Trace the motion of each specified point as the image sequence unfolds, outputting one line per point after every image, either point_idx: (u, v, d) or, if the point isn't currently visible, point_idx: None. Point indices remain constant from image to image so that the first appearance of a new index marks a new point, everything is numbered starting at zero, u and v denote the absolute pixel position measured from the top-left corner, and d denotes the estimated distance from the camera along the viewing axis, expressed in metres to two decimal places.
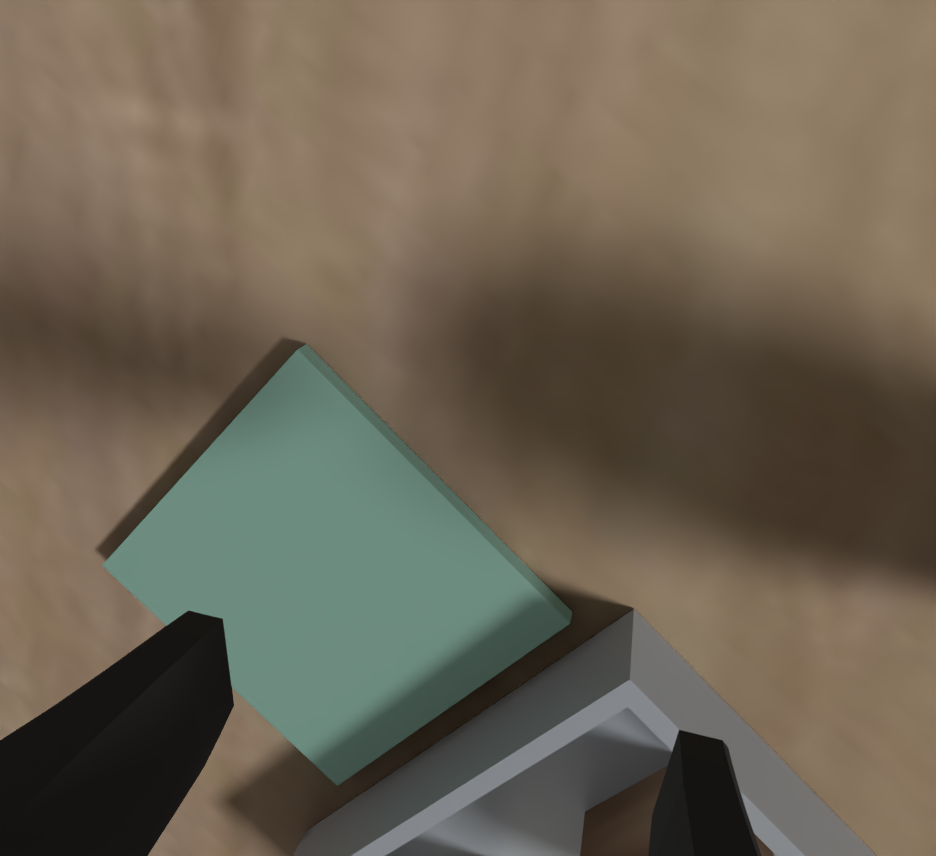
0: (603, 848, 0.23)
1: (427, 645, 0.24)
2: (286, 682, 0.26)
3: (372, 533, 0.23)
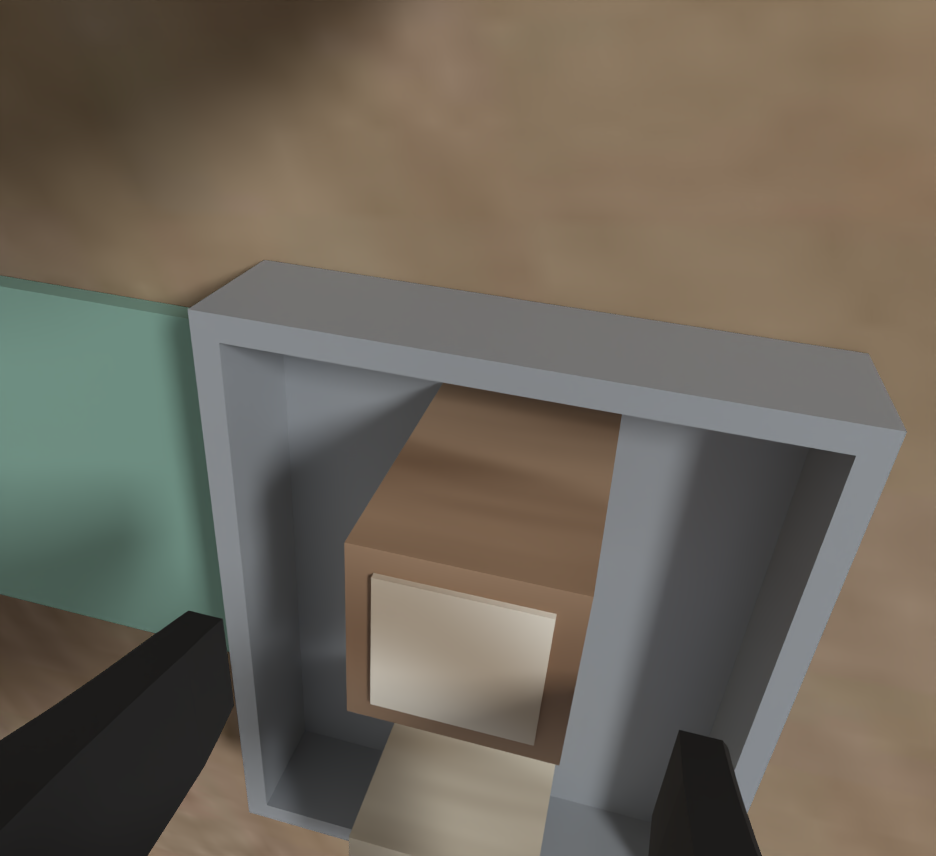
0: None
1: (160, 454, 0.20)
2: (126, 583, 0.23)
3: (25, 379, 0.20)
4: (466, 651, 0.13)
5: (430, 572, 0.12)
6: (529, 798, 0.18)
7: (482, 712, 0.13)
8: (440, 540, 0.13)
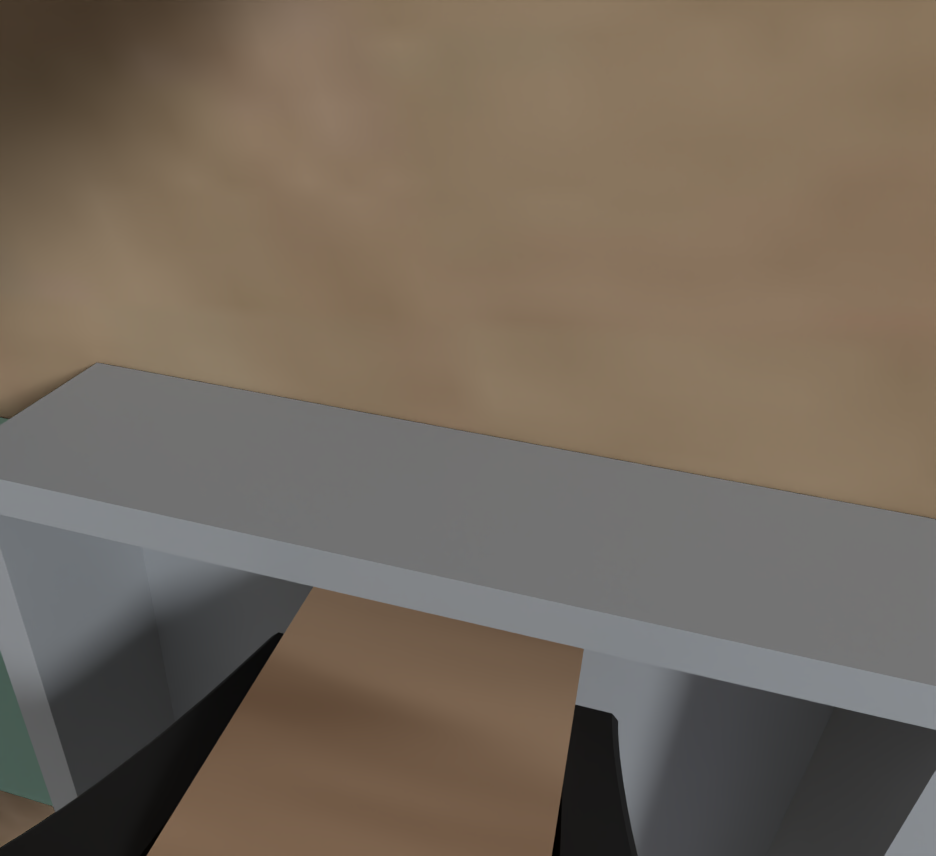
0: None
1: None
2: None
3: None
4: None
5: None
6: None
7: None
8: None
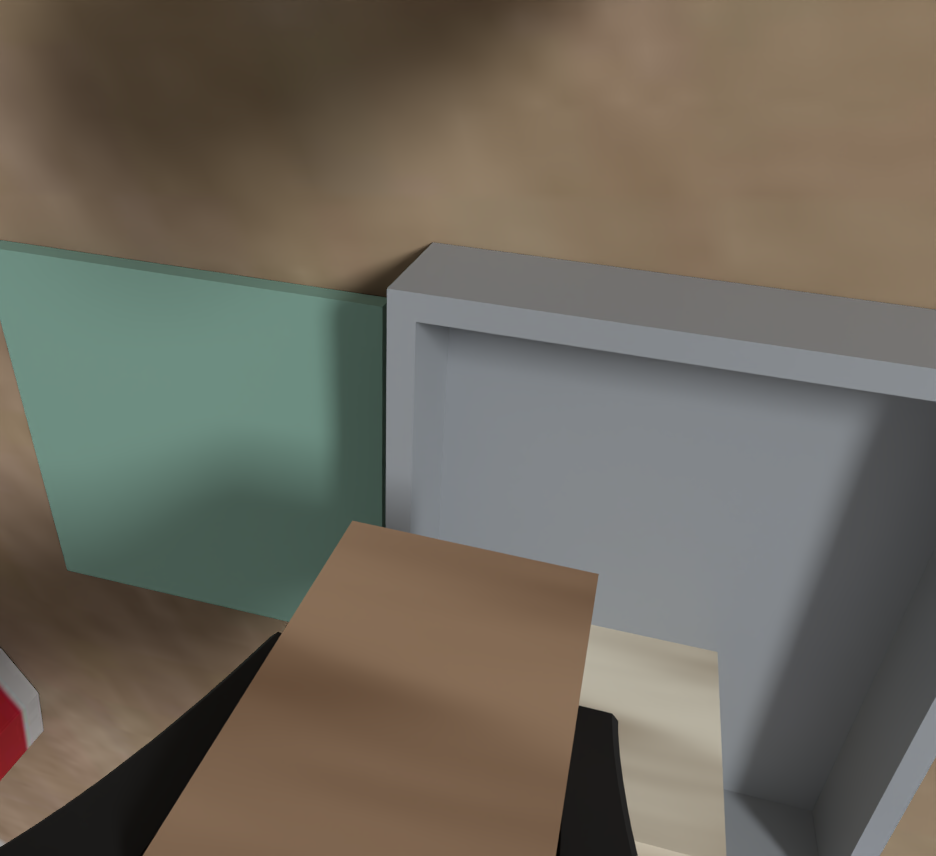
0: None
1: (308, 439, 0.21)
2: (257, 570, 0.24)
3: (174, 366, 0.20)
4: None
5: None
6: (702, 776, 0.18)
7: None
8: None
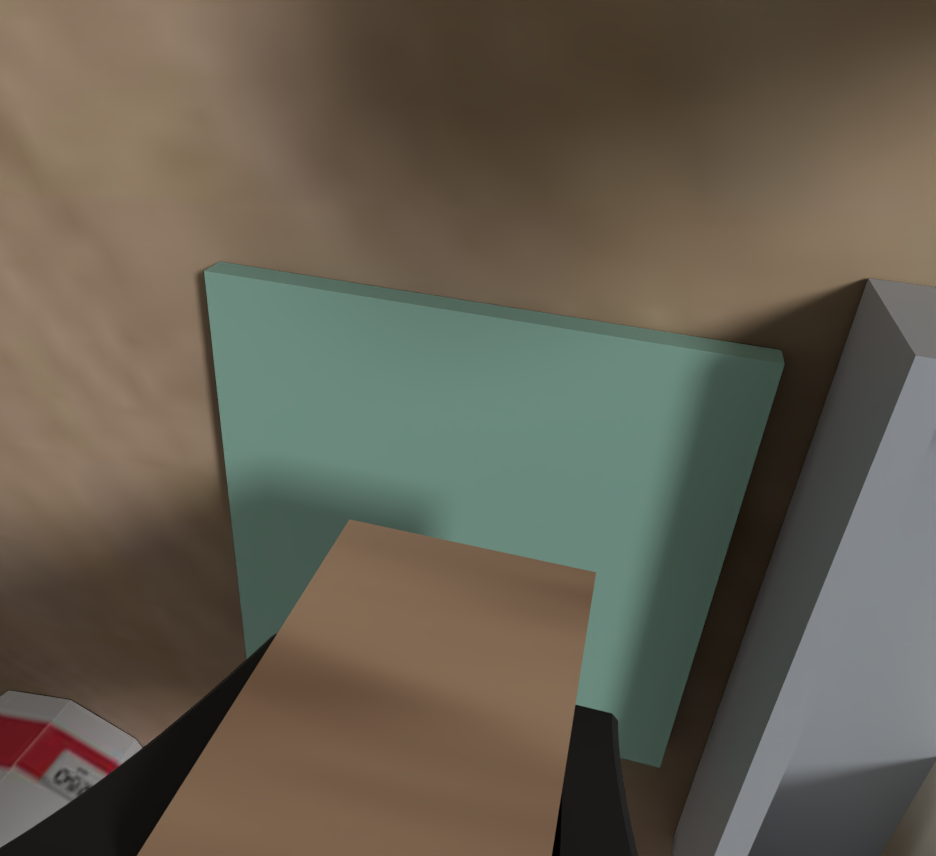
0: None
1: (623, 526, 0.16)
2: None
3: (452, 430, 0.16)
4: None
5: None
6: None
7: None
8: None
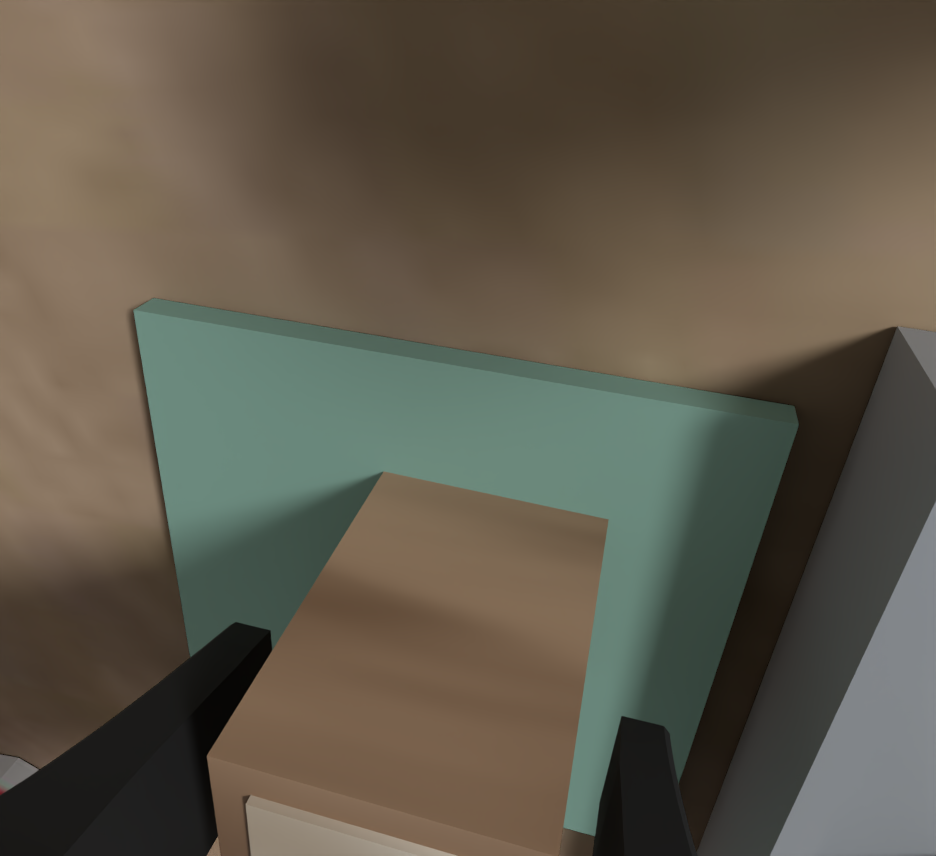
0: None
1: (613, 598, 0.14)
2: None
3: None
4: None
5: (327, 803, 0.09)
6: None
7: None
8: (346, 748, 0.09)
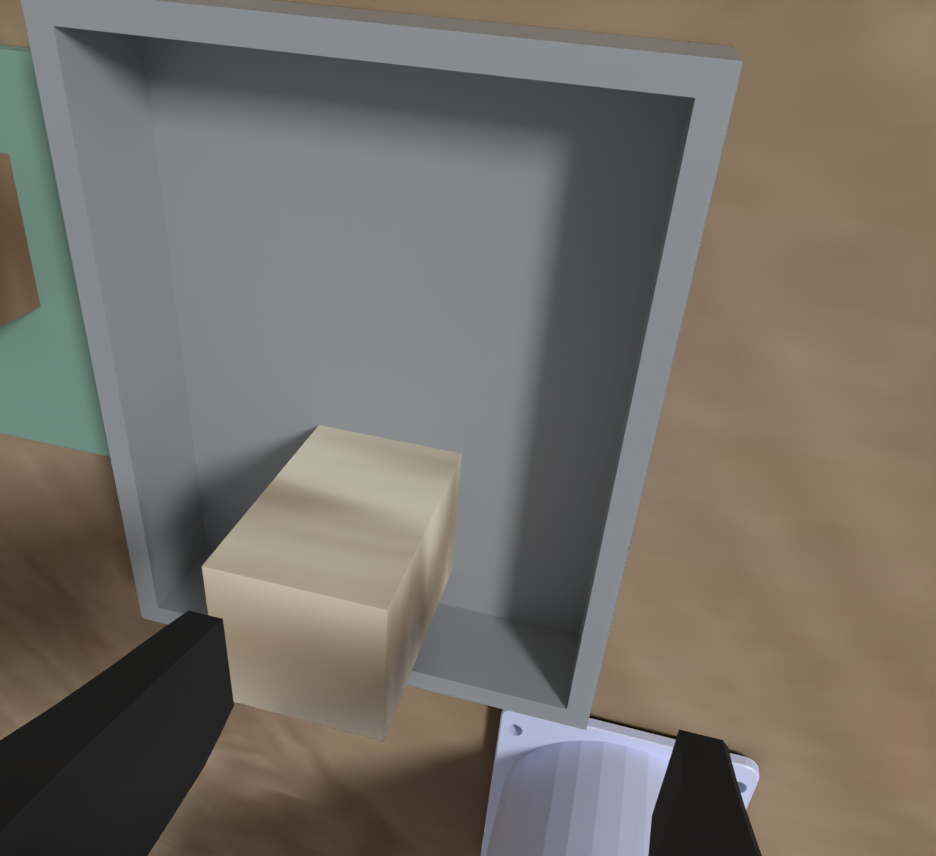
0: None
1: (36, 224, 0.20)
2: (16, 386, 0.23)
3: None
4: None
5: None
6: (397, 543, 0.17)
7: None
8: None
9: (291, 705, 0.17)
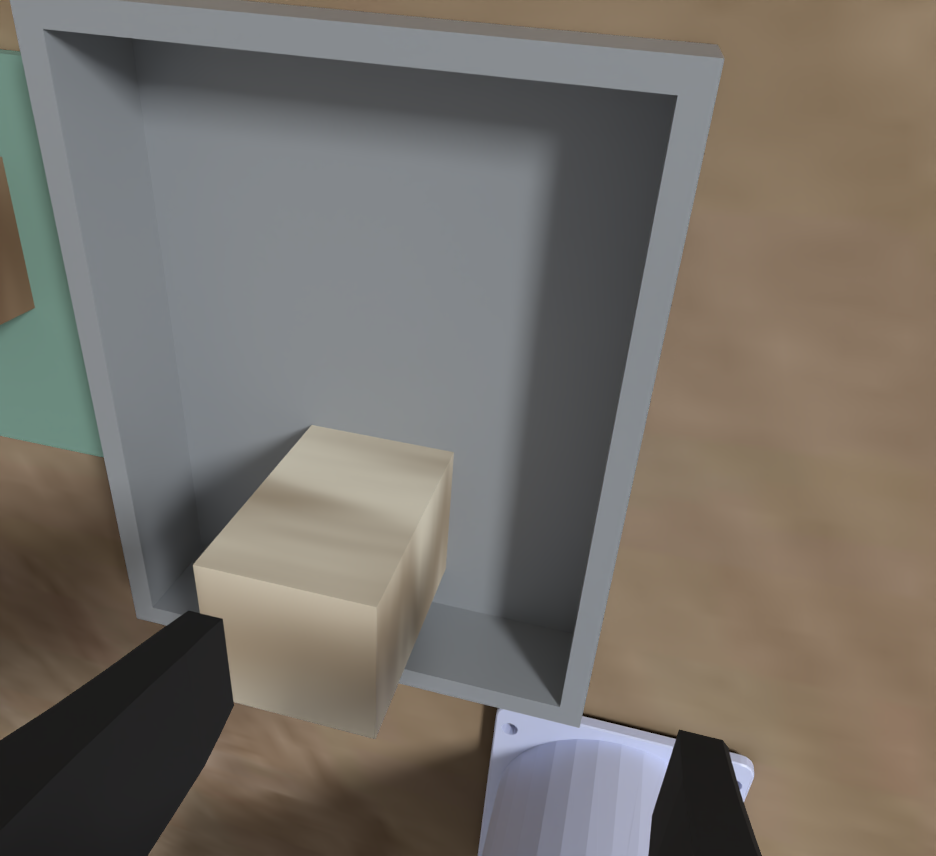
0: None
1: (29, 226, 0.20)
2: (12, 387, 0.23)
3: None
4: None
5: None
6: (387, 541, 0.17)
7: None
8: None
9: (283, 703, 0.18)
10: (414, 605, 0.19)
